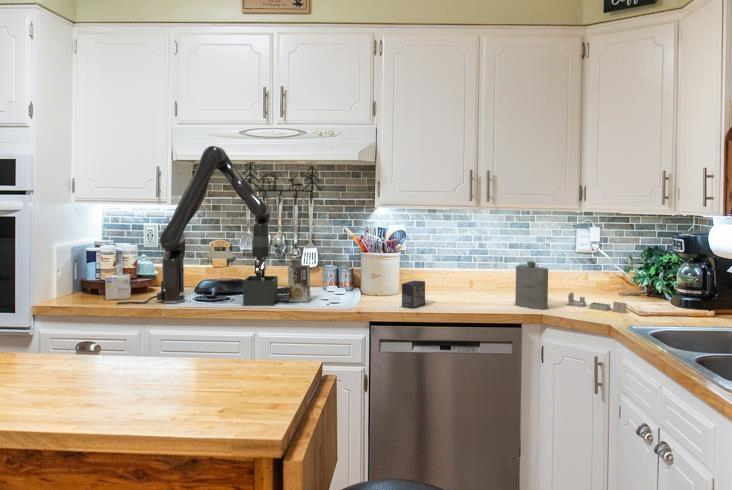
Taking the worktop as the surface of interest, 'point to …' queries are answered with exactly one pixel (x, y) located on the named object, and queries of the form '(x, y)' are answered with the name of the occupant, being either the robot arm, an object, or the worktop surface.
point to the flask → (531, 286)
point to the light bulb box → (118, 286)
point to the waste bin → (260, 291)
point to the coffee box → (299, 283)
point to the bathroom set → (596, 304)
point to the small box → (413, 294)
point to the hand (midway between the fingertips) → (260, 281)
